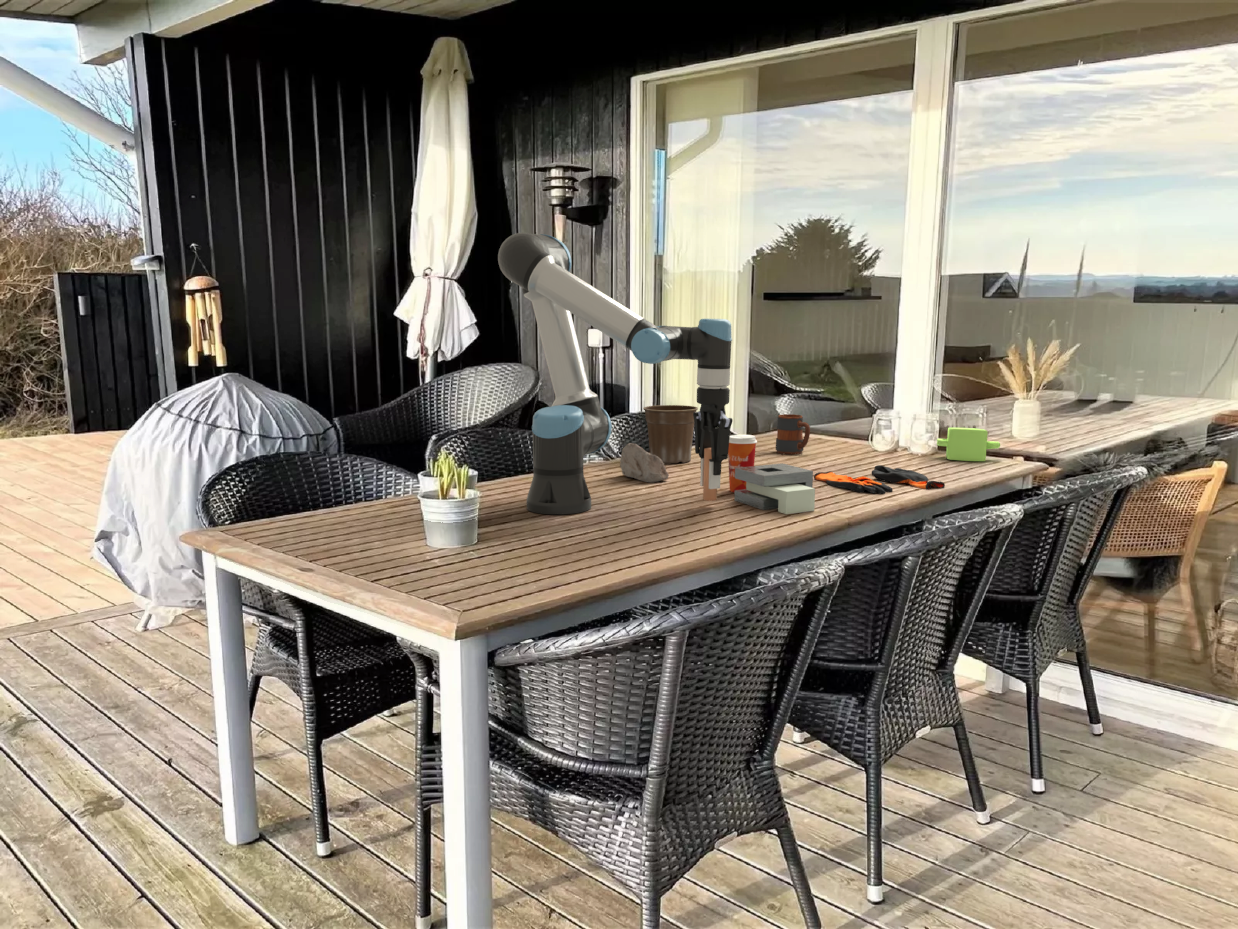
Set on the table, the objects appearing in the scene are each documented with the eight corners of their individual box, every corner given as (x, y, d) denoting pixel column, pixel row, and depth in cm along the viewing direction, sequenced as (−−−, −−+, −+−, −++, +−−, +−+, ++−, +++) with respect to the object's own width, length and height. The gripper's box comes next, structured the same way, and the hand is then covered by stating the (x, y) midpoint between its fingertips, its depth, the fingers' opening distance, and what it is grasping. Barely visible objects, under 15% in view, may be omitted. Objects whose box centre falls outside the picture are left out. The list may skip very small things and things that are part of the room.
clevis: (763, 510, 228) (764, 476, 227) (734, 500, 239) (734, 467, 237) (811, 504, 234) (813, 470, 233) (781, 495, 245) (782, 463, 244)
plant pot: (646, 455, 304) (646, 403, 302) (698, 456, 302) (699, 404, 300) (640, 464, 289) (640, 410, 286) (695, 466, 286) (696, 410, 284)
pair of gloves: (865, 498, 244) (866, 484, 243) (808, 481, 266) (808, 468, 265) (951, 489, 255) (952, 476, 254) (889, 473, 277) (890, 461, 276)
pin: (707, 501, 229) (709, 450, 227) (700, 498, 232) (701, 448, 230) (719, 500, 230) (720, 449, 228) (711, 497, 233) (713, 447, 231)
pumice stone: (671, 481, 263) (672, 444, 262) (650, 485, 259) (650, 447, 257) (635, 473, 275) (635, 438, 273) (614, 477, 270) (614, 441, 268)
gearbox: (997, 459, 300) (999, 428, 299) (1001, 463, 290) (1004, 431, 289) (935, 455, 304) (937, 425, 303) (937, 459, 295) (939, 428, 293)
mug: (799, 457, 301) (800, 419, 299) (769, 452, 310) (770, 415, 308) (817, 454, 307) (818, 416, 305) (787, 449, 316) (788, 413, 314)
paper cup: (719, 491, 250) (720, 436, 248) (737, 486, 256) (738, 433, 253) (744, 495, 245) (745, 439, 242) (762, 490, 250) (763, 436, 248)
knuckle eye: (786, 514, 224) (786, 491, 223) (746, 501, 238) (746, 480, 237) (814, 510, 227) (815, 488, 226) (773, 498, 241) (773, 477, 241)
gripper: (746, 389, 221) (742, 492, 225) (708, 382, 235) (705, 479, 239) (718, 390, 218) (715, 494, 222) (681, 383, 232) (678, 482, 236)
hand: (710, 486), depth 230 cm, fingers closed on pin, 3 cm apart
